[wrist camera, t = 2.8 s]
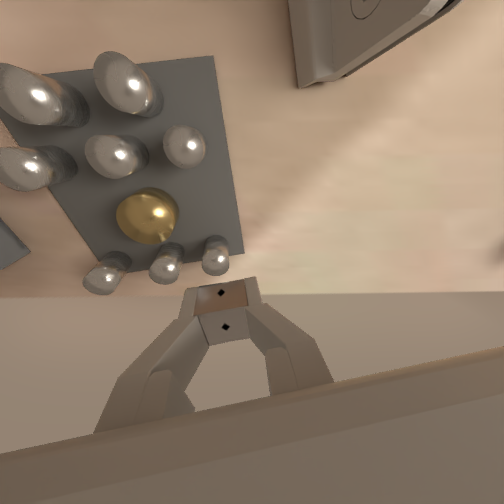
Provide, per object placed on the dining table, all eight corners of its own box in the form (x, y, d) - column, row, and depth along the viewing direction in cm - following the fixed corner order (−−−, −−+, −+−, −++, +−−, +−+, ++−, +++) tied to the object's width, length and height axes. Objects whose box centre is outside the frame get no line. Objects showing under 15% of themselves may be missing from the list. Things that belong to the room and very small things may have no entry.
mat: (-19, 83, 13) (-25, 81, 12) (213, 57, 14) (213, 55, 13) (110, 273, 22) (109, 275, 22) (244, 251, 23) (244, 253, 22)
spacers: (-8, 89, 13) (-92, 72, 9) (191, 66, 13) (180, 43, 10) (113, 271, 21) (92, 297, 18) (230, 252, 22) (231, 273, 19)
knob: (121, 192, 17) (104, 202, 15) (168, 182, 17) (160, 190, 15) (144, 234, 19) (133, 248, 17) (185, 225, 20) (180, 238, 17)
